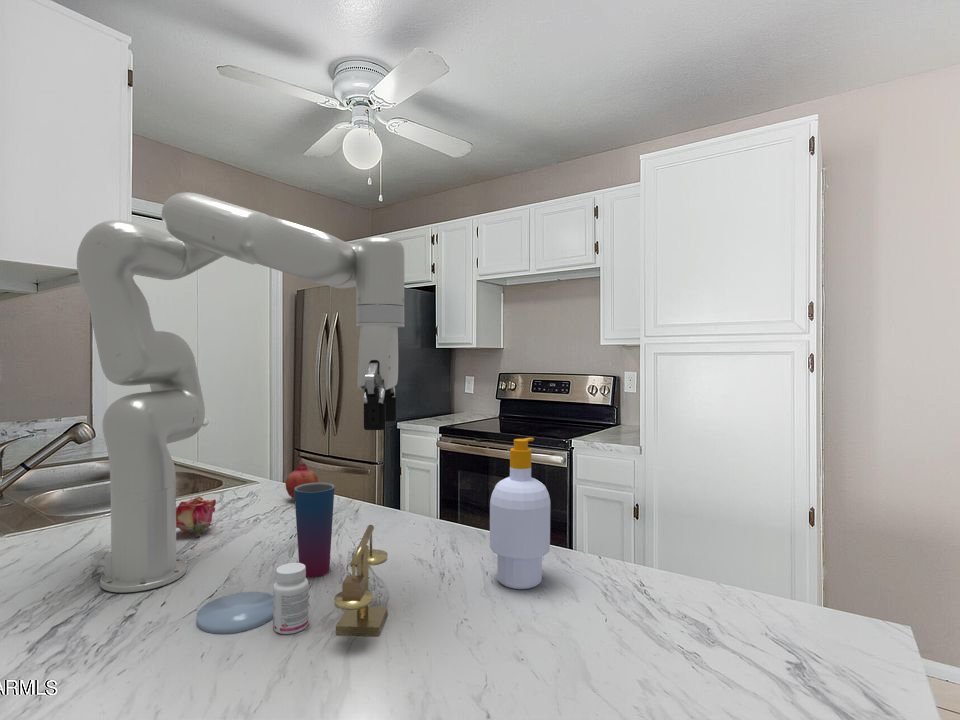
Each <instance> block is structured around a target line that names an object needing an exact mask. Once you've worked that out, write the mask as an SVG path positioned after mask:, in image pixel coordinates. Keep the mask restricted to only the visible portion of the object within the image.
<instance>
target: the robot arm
mask: <svg viewBox="0 0 960 720" xmlns="http://www.w3.org/2000/svg"><path fill="white" fill-rule="evenodd" d="M161 220H162V224H163V226H164V227H165V229H166V230H167V232H166V231H163V230H160V229H156V228H154V227H150V226H146V225H143V224H140V223H137V222H136V223H135V222H133V221H132V222H131V221H126V220H107V221H105V220H104V221H103V222H100V223H97V224H96V225H94V226H92V227H91V228H90V229H89V230H88V231H87V232H86V233H85V235H84V236H83V238H81V240H80V244H79V246H78V249H77V253H76V269H77V274H78V279H79V282H80V284H81V288H82V291H83V293H84V297H85V299H86V301H87V302H86V303H87V305H88V308H89V309H88V310H89V314H90V319H91V324H92V329H93V335H94V338H95V339H94V340H95V343H96V348H97V353H98V358H99V363H100V366H101V370H102V372H103V375H104V377H105V378H106V379H107V380H108V381H110V383H112V384H115V385H118V386H123V387H124V386H127V387H129V386H131V387H132V386H144V385H145V386H146V385H149V388H150V391H144V392H136V393H131V394H127V395H125V396H122V397H120V398H118V399H116V400H115V401H114V402H113V401H112V403H111V404H110V405H109V406H108V407H107V409H106V410H105V413H104V415H103V418H102V425H101V426H102V434H103V437H104V442H105V446H106V450H107V455H108V463H109V483H110V487H109V488H110V551H109V550H108V551H105V550H98V551H96V552H95V553H94V555H93V559H91V561H90V567H91V568H103V569H104V573H103V574H102V576H101V577H100V579H99V585H100V587H101V589H103V590H104V591H107V592H110V593H112V592H113V593H135V592H142V591H148V590H152V589H156V588H159V587H163V586H166V585H168V584H171V583H173V582H175V581H177V580H179V579H180V578H182V577H183V576H184V575H185V573H186V572H187V563H186V561H185V560H183V559H182V558H178V557H177V528H176V507H177V490H176V489H177V486H176V485H177V484H176V483H177V481H176V477H177V476H176V467H175V463H174V460H173V458H172V456H171V452H170V451H169V450H168V446H167V445H168V444H172V443H176V442H179V441H182V440H183V441H184V440H186V439H188V438H191V437H193V436H194V435H196V434H197V433H198V432H200V430H201V428H202V426H203V424H204V421H205V417H206V408H205V407H206V406H205V402H204V397H203V391H202V385H201V382H200V377H199V372H198V369H197V368H198V367H197V363H196V360H195V359H196V358H195V356H194V353H193V350H192V348H191V347H190V345H189V344H188V343H187V341H186V340H185V339H184V338H183V337H181V336H180V335H178V334H175V333H173V332H169V331H163V330H162V331H161V330H156V329H155V327H154V324H153V321H152V318H151V317H152V316H151V313H150V307H149V304H148V300H147V299H146V297H145V295H144V293H143V291H142V290H141V288H140V287H139V286H138V285H137V283H136V281H135V280H134V276H141V277H145V278H152V279H159V280H164V281H172V280H180V279H182V278H185V277H187V276H190V275H192V274H193V273H195V272H196V271H199V270H201V269H203V268H204V267H206V266H208V265H210V264H212V263H214V262H215V261H217V260H220V259H221V258H223V257H228V258H231V259H233V260H234V259H235V260H237V261H240V262H243V263H247V264H250V265H255V264H256V265H259V266H264V267H267V268H270V269H273V270H275V271H276V270H277V271H279V272H283V273H286V274H288V275H292V276H295V277H298V278H301V279H304V280H307V281H309V282H313V283H317V284H322V285H325V286H328V287H332V288H336V289H348V288H354V287H355V289H356V291H355V293H356V294H355V295H356V297H355V298H356V300H355V301H356V306H355V308H356V311H355V312H356V314H355V315H356V318H355V319H356V327H357V328H360V331H359V340H358V341H359V342H358V355H357V356H358V357H357V360H358V361H357V385H356V386H357V388H358V389H359V390H361V391H362V390H363V391H364V396H363V428H364V430H365V431H384V430H385V429H386V426H387V425H386V422H395V421H396V420H397V397H396V394H397V393H396V387H395V386H397V385H398V382H399V381H398V380H399V333H398V332H399V331H398V328H405V248H404V245H403V244H402V242H401V241H399V240H397V239H394V238H391V237H378V236H377V237H367V238H363V239H361V240H360V241H359V242H358V243H357V244H355V243H351V242H347V241H345V240H343V239H340V238H338V237H336V236H334V235H332V234H330V233H328V232H324V231H321V230H318V229H315V228H312V227H309V226H304V225H302V224H298V223H295V222H293V221H289V220H286V219H282V218H278V217H276V216H271V215H268V214H266V213H263V212H260V211H257V210H253V209H250V208H247V207H243V206H240V205H238V204H237V205H236V204H234V203H230V202H227V201H224V200H220V199H219V198H218V199H216V198H214V197H211V196H208V195H204V194H200V193H197V192H188V191H186V192H178V193H175V194H173V195H171V196H170V197H169V198H168V199H167V200H166V201H165V202H164V204H163V206H162V209H161Z"/></svg>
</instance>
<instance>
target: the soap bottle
mask: <svg viewBox="0 0 960 720" xmlns="http://www.w3.org/2000/svg"><path fill="white" fill-rule="evenodd" d="M534 440H535V437H525V438H514V439H513V447H512V448H510V449H509V476H507V477H505V478H503V479H501V480H499V481H498V482H497V483H496V484H495V486H494V489H493V490H492V493H491V496H490V501H489V549H490V550H491V551H492V553H494V554H495V555H497V563H496V564H497V567H496V568H497V570H496V571H497V573H496V574H497V575H496V577H497V580H498V581H499V583H500V584H501V585H503V586H504V587H506V588H509V589H510V588H511V589H515V590H526V589H532V588H535V587H537V586H538V585H540V584H541V582H542V576H543V573H542V572H543V557H544V556H546V555H547V554H549V552H550V550H551V549H550V548H551V498H550V494H549V491H548V489H547V487H546V485H545V484H543V483H542V482H541V481H539V480H538V479H536V478H534V477H532V448H529V442H533V441H534Z"/></svg>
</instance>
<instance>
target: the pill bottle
mask: <svg viewBox="0 0 960 720" xmlns="http://www.w3.org/2000/svg"><path fill="white" fill-rule="evenodd" d="M275 580H276V581H275V582H274V584H273V587H272V595H273V618H272V621H273V622H272V625H273V627H272V628H273V630H274V631H275V632H276V633H278V634H282V635H292V634H296V633H299V632H301V631H303V630H304V629H306V628H307V627H308V625H309V622H310V621H309V618H310V617H309V616H310V615H309V580H308V579H307V577H306V567H305V565H304V564H302V563H299V562H288V563H284V564H281V565H280V566H278V567H277V568H276V570H275Z"/></svg>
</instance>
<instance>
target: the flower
mask: <svg viewBox="0 0 960 720" xmlns="http://www.w3.org/2000/svg"><path fill="white" fill-rule="evenodd" d="M216 504H217V500H216V499H215V498H214V499H211V500H209V499H204V498H203V497H201V496H198V497H196V498H191V499H189V500H187V501H181V502H179V504H178V505H177V506H176V529H179V530H180V531H181V532H182V534H183V533H184V534H190V533H191V534H193V532H195V535H196V536H195V537H196V538H198V539H199V538H201V532H204V531H206V530H207V528H208V529H209V528H210V527H211V526H213V525H215V524H216V523H217V522H218V521H219V520H221V518H220V519H218V520H216V521H215V522H213V513H215V512H216V507H215V506H216ZM212 522H213V523H212Z"/></svg>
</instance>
